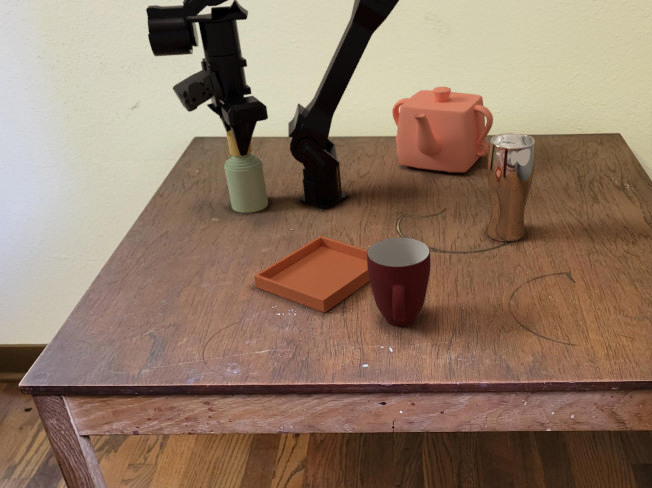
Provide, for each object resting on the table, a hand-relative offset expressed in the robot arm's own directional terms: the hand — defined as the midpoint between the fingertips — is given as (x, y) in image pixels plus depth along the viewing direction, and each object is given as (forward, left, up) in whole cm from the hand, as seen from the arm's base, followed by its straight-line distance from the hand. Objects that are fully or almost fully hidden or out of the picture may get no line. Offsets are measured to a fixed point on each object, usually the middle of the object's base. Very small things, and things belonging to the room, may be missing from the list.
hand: (240, 151), depth 121 cm
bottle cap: (0, 0, 0) cm, 0 cm away
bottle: (0, 0, -10) cm, 10 cm away
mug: (+17, +45, -10) cm, 49 cm away
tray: (+13, +28, -10) cm, 32 cm away
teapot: (-32, +19, -10) cm, 38 cm away
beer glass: (-14, +44, -10) cm, 47 cm away
